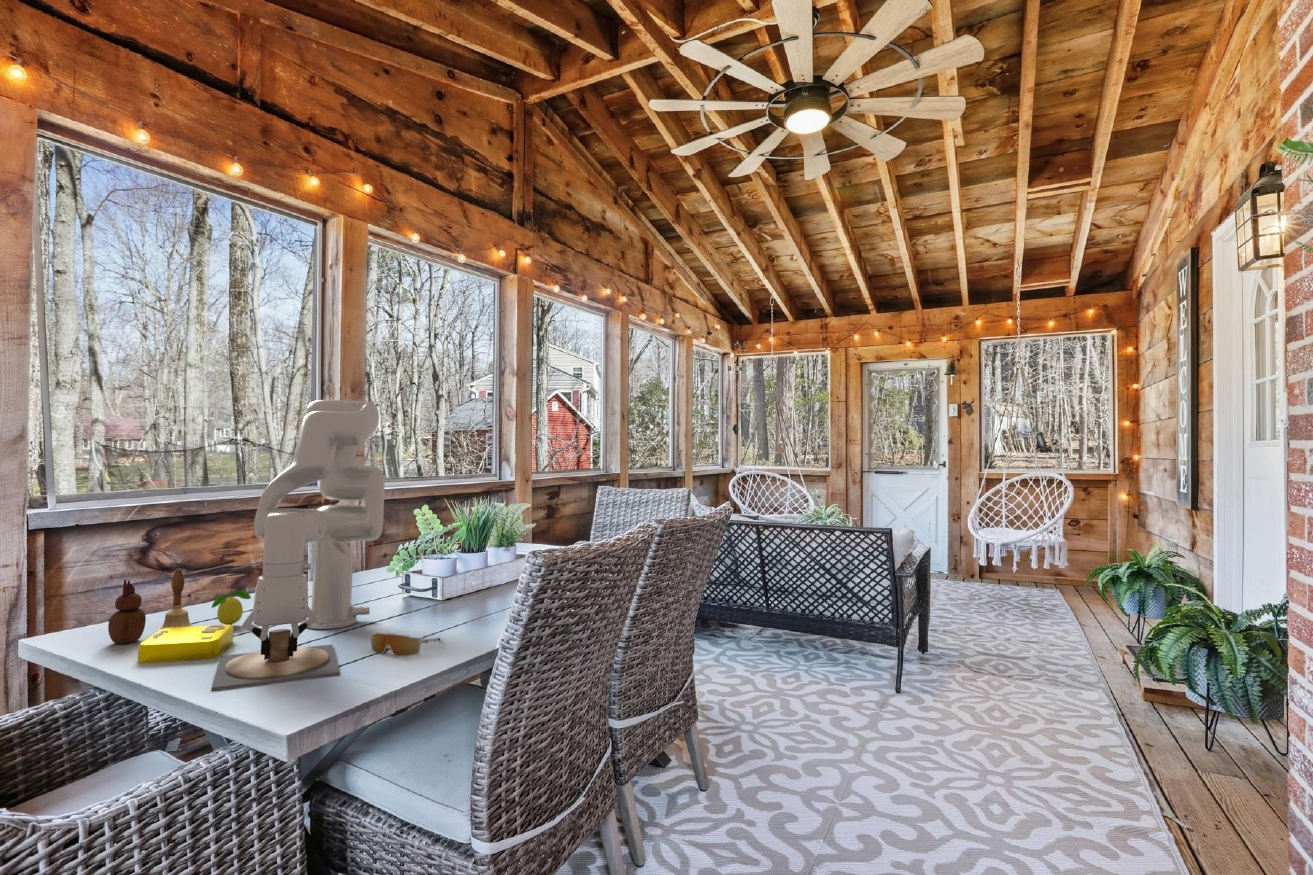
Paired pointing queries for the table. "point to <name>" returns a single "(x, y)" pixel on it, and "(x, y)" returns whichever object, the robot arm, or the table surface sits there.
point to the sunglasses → (397, 643)
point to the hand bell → (177, 604)
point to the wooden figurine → (127, 617)
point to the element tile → (185, 643)
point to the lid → (277, 659)
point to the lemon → (230, 607)
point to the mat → (228, 681)
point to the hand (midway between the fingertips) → (278, 655)
